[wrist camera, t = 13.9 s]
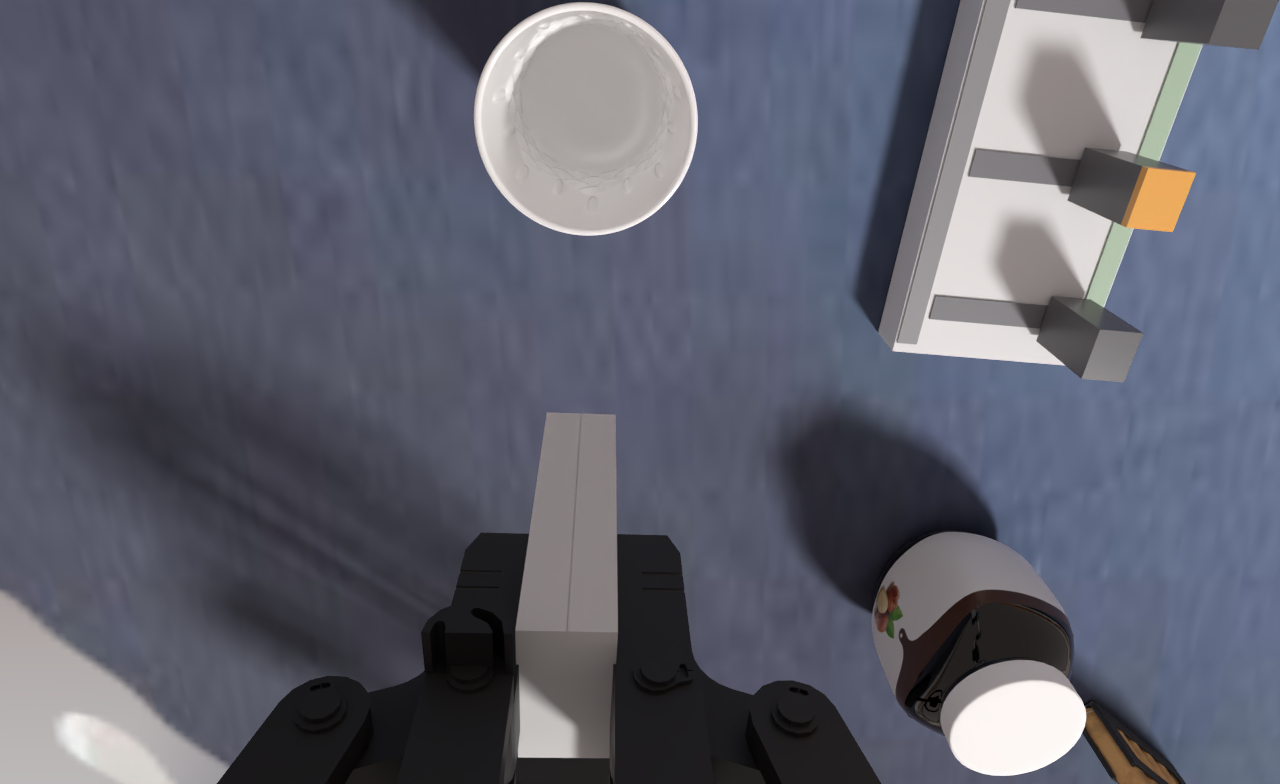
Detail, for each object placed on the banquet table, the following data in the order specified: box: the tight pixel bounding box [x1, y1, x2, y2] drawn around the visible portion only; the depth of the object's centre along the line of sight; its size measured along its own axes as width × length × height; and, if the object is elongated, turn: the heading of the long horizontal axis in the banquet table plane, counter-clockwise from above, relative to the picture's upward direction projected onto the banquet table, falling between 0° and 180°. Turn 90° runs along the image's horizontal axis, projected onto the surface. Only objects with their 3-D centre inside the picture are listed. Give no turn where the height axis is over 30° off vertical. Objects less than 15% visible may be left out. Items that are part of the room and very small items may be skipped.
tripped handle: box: [1067, 147, 1196, 232], centre depth 35 cm, size 2×2×5 cm
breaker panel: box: [878, 0, 1202, 365], centre depth 38 cm, size 19×10×3 cm, turn 174°
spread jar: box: [871, 530, 1086, 776], centre depth 46 cm, size 12×11×12 cm
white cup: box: [474, 2, 698, 235], centre depth 33 cm, size 8×8×10 cm
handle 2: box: [1141, 0, 1279, 50], centre depth 32 cm, size 2×2×4 cm
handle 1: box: [1036, 296, 1143, 382], centre depth 38 cm, size 2×2×4 cm
